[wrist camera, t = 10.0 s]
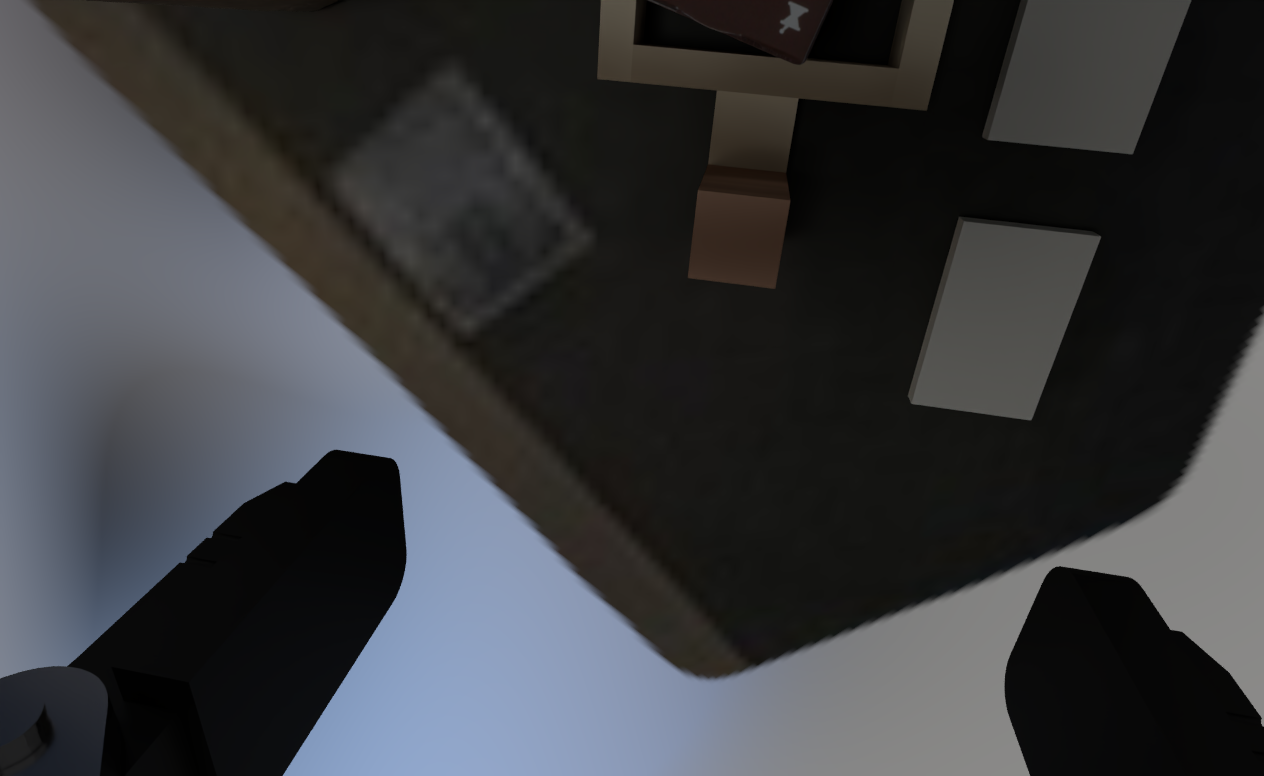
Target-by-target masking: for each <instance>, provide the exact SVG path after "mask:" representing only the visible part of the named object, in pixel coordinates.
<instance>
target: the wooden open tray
mask: <svg viewBox="0 0 1264 776" xmlns="http://www.w3.org/2000/svg"><path fill="white" fill-rule="evenodd" d="M953 2H954V0H902V2H901V6H900V11H899V15H898V20H897V24H896V29H895V34H894V38H893V43H892V47H891V52H890V56H889V61H888V65H879V64H868V63H857V62H846V61H835V60H824V59H813V58H807V59H806V61H805V63H803V64H801V65H796V64H792V63H790V62H788V61H786V60H783V59H781V58H778V57H776V56H773V55H768V54H757V53H746V52H735V51H724V50H713V49H702V48H691V47H679V46H668V45H657V44H646V43H644V31H645V18H646V4H647V0H601V15H600V35H599V55H598V75H597V79H603V80H613V81H624V82H634V83H645V84H655V85H665V86H676V87H686V88H697V89H707V90H717V96H716V104H715V112H714V120H713V129H712V137H711V145H710V153H709V161H708V166H707V169H706V171H705V174H704V176H703V179H702V181H701V184H700V187H699V189H698V195H697V204H696V212H695V221H694V229H693V238H692V247H691V255H690V264H689V272H688V278H693V279H701V280H709V281H717V282H725V283H733V284H741V285H749V286H757V287H765V288H773V289H775V286H776V280H777V275H778V269H779V263H780V258H781V252H782V246H783V241H784V235H785V229H786V224H787V218H788V212H789V206H790V201H791V200H790V194H789V188H788V182H787V176H786V170H787V164H788V158H789V152H790V146H791V140H792V134H793V129H794V123H795V117H796V111H797V105H798V99H799V98H801V99H811V100H821V101H832V102H842V103H853V104H863V105H873V106H884V107H894V108H904V109H915V110H925V111H927V107H928V103H929V99H930V95H931V91H932V87H933V83H934V79H935V75H936V71H937V67H938V63H939V59H940V55H941V51H942V47H943V43H944V39H945V35H946V31H947V27H948V23H949V19H950V15H951V11H952V6H953Z"/></svg>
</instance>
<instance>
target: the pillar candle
mask: <svg viewBox="0 0 1264 776" xmlns="http://www.w3.org/2000/svg"><path fill="white" fill-rule="evenodd" d="M88 1H105V2H129V3H139V4H161V5H182V6H196V7H204V8H220V9H221V8H225V9H228V8H230V9H242V10H257V11H296V12H297V11H316V10H320V9H321V8H323V7H325V6H328V5H331V4H333V3H335V2H337V1H338V0H88Z"/></svg>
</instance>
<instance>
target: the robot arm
mask: <svg viewBox="0 0 1264 776" xmlns="http://www.w3.org/2000/svg"><path fill="white" fill-rule="evenodd" d="M405 565H406V540H405V529H404V518H403V506H402V495H401V484H400V474H399V469H398V466H397V464H396V462H395V461H394V460H393V459H391V458H386V457H379V456H373V455H366V454H360V453H354V452H348V451H341V450H333V451H330V452H328V453H327V454H326V455H325V456H324V457H323V458H322V459H321V460H320V461H319V462H318V463H317V464H316V465H314V467H312V468H311V469H310V470H309V471H308V472H307V473H306V474H305V475H304V476H303V477H302V478H301V479H300V480H299V481H298V482H297V483H290V482H284V483H282V484H280V485H278V486H276V487H274V488H272V489H270V490H268V491H267V492H265V493H263V494H261V495H259V496H257V497H255V498H253V499H251V500H249V501H247V502H245V503H244V504H243V505H242V506H241V507H239V508H238V509H237V510H236V511H235V512H234V513H233V514H232V515H231V516H230V517H229V518H228V519H227V520H225V521H224V522H223V523H222V524H221V525H220V526H219V527H218V528H217V529H216V530H215V531H214V532H213V536H212V538H206V539H205V540H204V541H203V542H202V543H201V544H199V545H198V546H197V547H196V548H195V549H194V550H193V551H192V552H191V553H190V554H189V555H188V556H187V560H186V562H185V563H179V564H178V565H177V566H176V567H175V568H174V569H172V570H171V571H170V572H169V573H168V574H167V575H166V576H165V577H164V578H163V579H162V580H161V581H160V582H158V583H157V584H156V585H155V586H154V587H153V588H152V589H151V590H150V591H149V592H148V593H147V594H145V595H144V596H143V597H142V598H141V599H140V600H139V601H138V602H137V603H136V604H135V605H134V606H133V607H131V608H130V609H129V610H128V611H127V612H126V613H125V614H124V615H123V616H122V617H121V618H120V619H119V620H117V622H115V623H114V624H113V625H112V626H111V627H110V628H109V629H108V630H107V631H106V632H104V633H103V634H102V635H101V636H100V637H99V638H98V639H97V640H96V641H95V642H94V643H93V644H92V645H91V646H89V647H88V648H87V649H86V650H85V651H84V652H83V653H82V654H81V655H80V656H79V657H78V658H76V659H75V660H74V661H73V662H72V663H71V664H69V665H68V666H67V667H61V666H57V667H55V666H53V667H44V668H37V669H32V670H27V671H23V672H19V673H16V674H13V675H10V676H6V677H3V678H1V679H0V776H283V774H284V773H285V771H286V769H287V768H288V766H289V765H290V763H291V762H292V760H293V758H294V757H295V755H296V754H297V752H298V751H299V749H300V747H301V746H302V744H303V743H304V741H305V740H306V738H307V737H308V735H309V733H310V731H311V730H312V729H313V727H314V726H315V724H316V722H317V721H318V719H319V718H320V716H321V715H322V713H323V711H324V710H325V708H326V707H327V705H328V703H329V702H330V700H331V699H332V697H333V696H334V694H335V693H336V691H337V689H338V688H339V686H340V685H341V683H342V681H343V680H344V678H345V677H346V675H347V674H348V672H349V670H350V669H351V667H352V666H353V664H354V663H355V661H356V659H357V658H358V656H359V655H360V653H361V652H362V650H363V649H364V647H365V645H366V644H367V642H368V641H369V639H370V638H371V636H372V634H373V633H374V631H375V630H376V628H377V627H378V625H379V623H380V622H381V620H382V619H383V617H384V616H385V614H386V613H387V611H388V609H389V608H390V606H391V605H392V603H393V601H394V600H395V598H396V596H397V594H398V591H399V589H400V586H401V583H402V580H403V576H404V571H405ZM1005 699H1006V706H1007V710H1008V714H1009V717H1010V720H1011V723H1012V726H1013V729H1014V731H1015V734H1016V737H1017V740H1018V743H1019V745H1020V748H1021V751H1022V754H1023V757H1024V760H1025V762H1026V765H1027V768H1028V771H1029V774H1030V776H1264V727H1263V726H1262V724H1261V719H1262V718H1261V716H1260V715H1259V714H1258V712H1257V711H1256V709H1255V708H1254V707H1253V705H1252V704H1251V703H1250V701H1249V700H1248V698H1247V697H1246V695H1244V693H1243V691H1242V690H1241V689H1240V687H1239V686H1238V684H1237V683H1236V682H1235V680H1234V679H1233V677H1232V676H1231V675H1230V673H1229V672H1228V671H1226V670H1225V669H1224V668H1223V667H1222V666H1221V665H1220V664H1218V663H1217V662H1216V661H1215V660H1214V659H1213V658H1212V657H1210V656H1209V655H1208V654H1207V653H1206V652H1205V651H1204V650H1202V649H1201V648H1200V647H1199V646H1198V645H1197V644H1195V643H1194V642H1193V641H1192V640H1191V639H1190V638H1188V637H1187V636H1186V635H1185V634H1184V633H1183V632H1180V631H1174V630H1170V629H1169V627H1168V626H1167V624H1166V623H1165V621H1164V620H1163V618H1162V617H1161V615H1160V614H1159V612H1158V611H1157V609H1156V608H1155V606H1154V605H1153V603H1152V602H1151V600H1150V599H1149V597H1148V596H1147V594H1146V593H1145V591H1144V590H1143V589H1142V587H1141V586H1140V585H1139V584H1138V583H1137V582H1136V581H1135V580H1133V579H1131V578H1129V577H1124V576H1117V575H1111V574H1105V573H1099V572H1092V571H1086V570H1079V569H1074V568H1067V567H1061V566H1059V567H1055V568H1053V569H1052V570H1051V571H1050V572H1049V573H1048V574H1047V575H1046V577H1045V579H1044V581H1043V583H1042V585H1041V587H1040V590H1039V592H1038V594H1037V596H1036V598H1035V601H1034V603H1033V605H1032V607H1031V610H1030V612H1029V614H1028V616H1027V619H1026V621H1025V623H1024V625H1023V628H1022V630H1021V632H1020V634H1019V637H1018V639H1017V641H1016V643H1015V646H1014V648H1013V650H1012V652H1011V655H1010V657H1009V660H1008V663H1007V667H1006V673H1005Z"/></svg>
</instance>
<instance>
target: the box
mask: <svg viewBox="0 0 1264 776" xmlns="http://www.w3.org/2000/svg"><path fill="white" fill-rule="evenodd" d="M647 1H650V2H652V3H655V4H657V5H660V6H662V7H664V8H666V9H668V10H671V11H673V12H675V13H678V14H680V15H682V16H685V17H687V18H689V19H692V20H694V21H696V22H698V23H700V24H702V25H704V26H706V27H708V28H710V29H714V30H717V31H719V32H721V33H723V34H726V35H728V36H731V37H733V38H735V39H737V40H739V41H742V42H744V43H746V44H749V45H751V46H753V47H755V48H757V49H760V50H762V51H764V52H767V53H769V54H771V55H773V56H776V57H778V58H781V59H783V60H786V61H788V62H790V63H792V64H796V65H801V64H803V63H805V61H806V59H807V58H808V56H809V54H810V51H811V49H812V47H813V45H814V42H815V40H816V38H817V36H818V34H819V32H820V29H821V26H822V24H823V22H824V20H825V18H826V16H827V14H828V11H829V9H830V7H831V5H832V3H833V0H647Z"/></svg>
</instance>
